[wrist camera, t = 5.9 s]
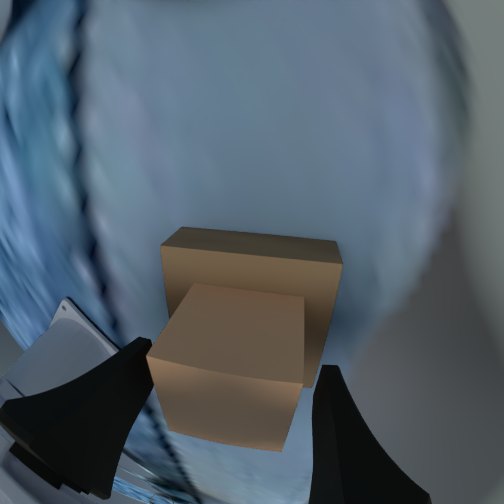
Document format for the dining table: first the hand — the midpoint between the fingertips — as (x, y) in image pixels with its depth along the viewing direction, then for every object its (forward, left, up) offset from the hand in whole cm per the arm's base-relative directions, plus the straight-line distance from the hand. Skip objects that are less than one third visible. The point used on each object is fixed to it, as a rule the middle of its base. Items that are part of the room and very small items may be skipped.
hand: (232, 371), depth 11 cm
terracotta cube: (0, 0, -3) cm, 3 cm away
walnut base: (0, 0, -6) cm, 6 cm away
